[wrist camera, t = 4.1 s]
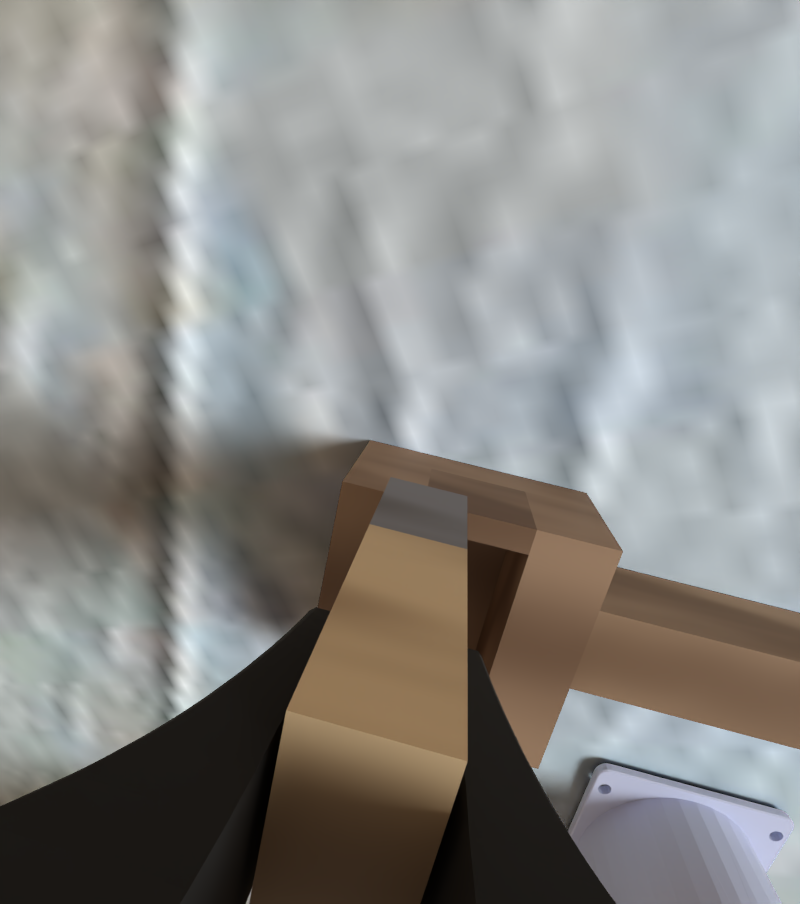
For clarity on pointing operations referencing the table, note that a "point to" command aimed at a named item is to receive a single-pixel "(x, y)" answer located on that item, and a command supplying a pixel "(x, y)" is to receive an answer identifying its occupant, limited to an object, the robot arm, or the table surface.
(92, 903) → the robot arm
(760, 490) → the table surface
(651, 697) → the post
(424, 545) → the tan square peg
